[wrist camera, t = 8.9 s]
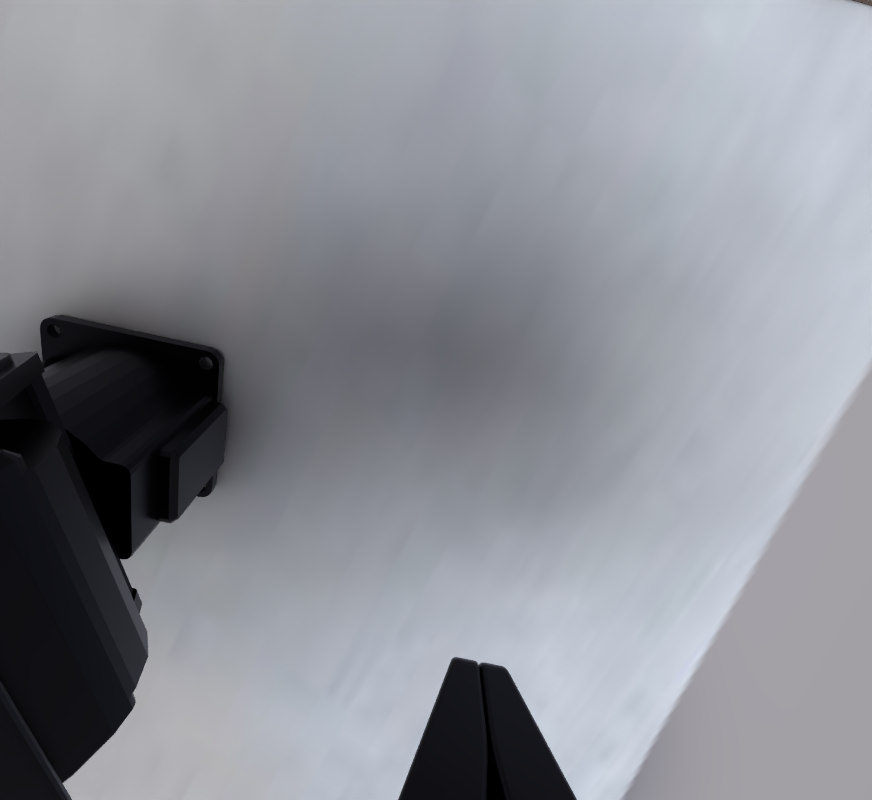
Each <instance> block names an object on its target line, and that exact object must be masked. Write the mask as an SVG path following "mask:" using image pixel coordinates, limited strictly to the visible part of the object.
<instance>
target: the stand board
mask: <svg viewBox="0 0 872 800" xmlns="http://www.w3.org/2000/svg"><path fill="white" fill-rule="evenodd" d="M855 1H858V2H862V3H866V4H869V5H872V0H855Z"/></svg>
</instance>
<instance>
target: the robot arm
mask: <svg viewBox="0 0 872 800" xmlns="http://www.w3.org/2000/svg"><path fill="white" fill-rule="evenodd" d="M55 325H56V326H58V327H59V329H60V330H61V334H59V333H58V332H57V331H56V330H55ZM40 334H41V346H42V358H43V361H42V362H41V360H40V358H39V355H38V353H37V352H27V353H16V354H10V353H0V800H72V799H71V797H70V795H69V793H68V792H67V790H66V789H65V787H64V785H63V784H62V783H63V782H65V781H66V780H67V779H69V778H70V777H71V776H72V775H73V774H74V773H75V772H76V771H78V770H79V769H80V768H81V767H82V766H83V765H84V764H85V763H86V762H87V761H88V760H89V759H90V758H91V757H92V756H93V755H94V754H95V753H96V752H97V751H98V750H99V749H100V748H101V747H102V746H103V745H104V744H105V743H106V742H107V741H108V740H109V739H110V738H111V737H112V736H113V735H114V733H115V732H116V731H117V729H118V728H119V727H120V725H121V724H122V723H123V721H124V720H125V719H126V717H127V716H128V715H129V713H130V712H131V711H132V709H133V707H134V705H135V703H136V702H135V697H134V695H133V692H134V690H135V688H136V686H137V683H138V681H139V678H140V676H141V673H142V671H143V668H144V665H145V663H146V660H147V658H148V640H147V630H146V628H145V626H144V623H143V621H142V619H141V616H140V614H139V613H140V610H141V606H142V601H141V599H140V597H139V594H138V592H137V590H136V589H135V588H132V587H131V585H130V582H129V580H128V578H127V575H126V573H125V570H124V568H123V566H122V563H121V561H120V559H128V558H130V557H131V556H132V555H133V553H134V552H135V551H136V550H137V549H138V548H139V546H140V545H141V544H142V543H143V542H144V540H145V539H146V538H147V537H148V536H149V535H150V533H151V532H152V531H153V530H154V529H155V527H156V526H157V525H158V524H159V523H160V521H161V522H166V523H172V522H174V521H175V520H177V519H178V518H179V517H180V516H181V515H182V514H183V512H184V511H185V510H186V509H187V507H188V506H189V505H190V504H191V502H192V501H193V500H194V499H195V497H196V496H198V497H205V496H208V495H209V494H210V493H211V492H212V491H213V489H214V488H215V486H216V476H217V470H218V468H219V467H220V466H221V465H222V463H223V461H224V450H225V436H226V421H227V408H226V407H225V405H224V404H223V403H221V396H222V380H223V364H224V362H223V357H222V355H221V354H220V353H219V352H218V351H217V350H216V349H213V348H211V347H206V346H201V345H197V344H192V343H187V342H183V341H178V340H173V339H169V338H164V337H159V336H155V335H150V334H145V333H140V332H136V331H131V330H126V329H122V328H117V327H112V326H108V325H103V324H98V323H94V322H89V321H84V320H79V319H75V318H70V317H65V316H60V315H55V316H52V317H49V318H47V319H45V320H43V321H42V323H41V325H40ZM204 357H207V358H210V360H211V361H212V363H213V366H208V365H206V363H205V362H204V359H203V358H204ZM205 485H206V487H204V486H205ZM398 800H577V799H576V797H575V795H574V793H573V792H572V790H571V788H570V786H569V784H568V782H567V780H566V778H565V777H564V775H563V773H562V771H561V769H560V767H559V765H558V763H557V762H556V760H555V758H554V756H553V754H552V752H551V750H550V748H549V747H548V745H547V743H546V741H545V739H544V737H543V735H542V733H541V732H540V730H539V728H538V726H537V724H536V722H535V720H534V718H533V717H532V715H531V713H530V711H529V709H528V707H527V705H526V704H525V702H524V700H523V698H522V696H521V694H520V692H519V690H518V689H517V687H516V685H515V683H514V681H513V679H512V677H511V675H510V674H509V672H508V670H507V669H506V668H504V667H503V666H499V665H494V664H489V663H480V664H479V665H478V663H477V662H476V661H473V660H468V659H463V658H458V657H454V658H453V659H452V660H451V662H450V665H449V667H448V670H447V673H446V675H445V678H444V681H443V683H442V686H441V688H440V691H439V694H438V696H437V699H436V702H435V704H434V707H433V710H432V712H431V715H430V717H429V720H428V723H427V725H426V728H425V731H424V733H423V736H422V738H421V741H420V744H419V746H418V749H417V752H416V754H415V757H414V759H413V762H412V765H411V767H410V770H409V773H408V775H407V778H406V781H405V783H404V786H403V788H402V791H401V794H400V796H399V799H398Z"/></svg>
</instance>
